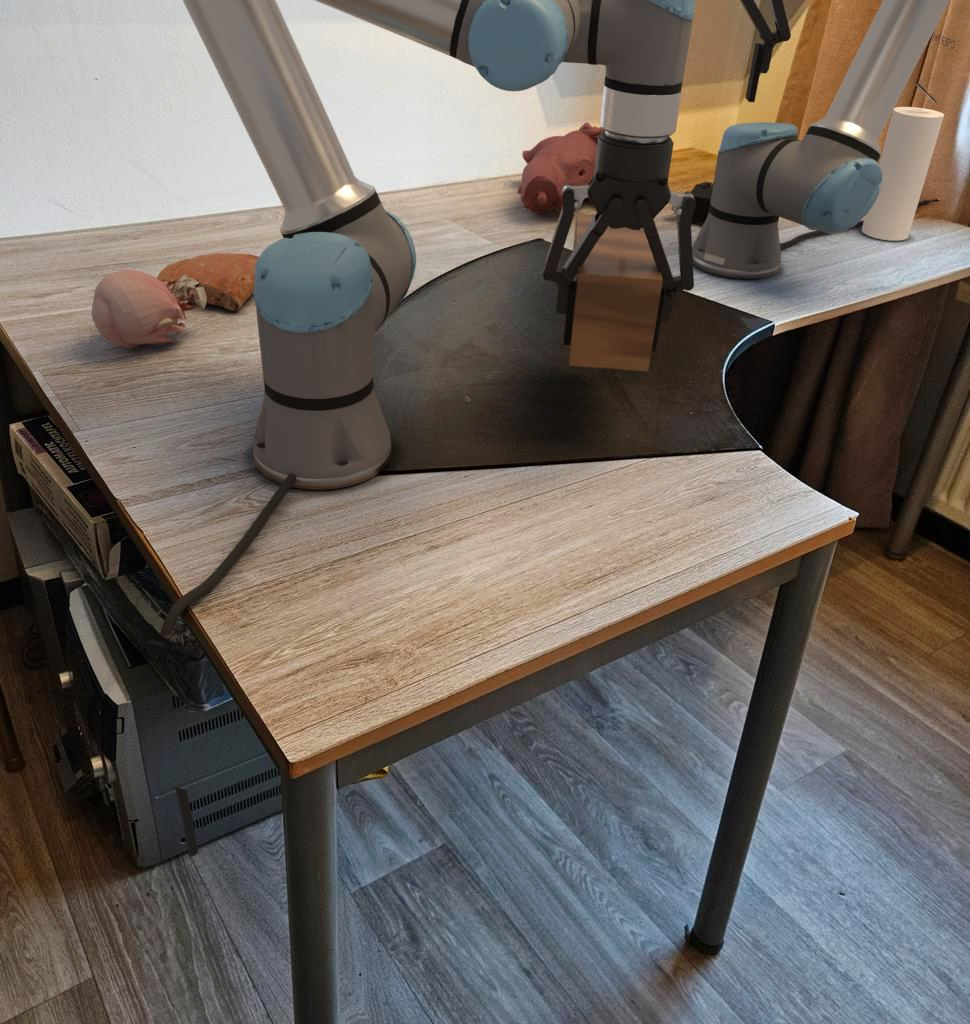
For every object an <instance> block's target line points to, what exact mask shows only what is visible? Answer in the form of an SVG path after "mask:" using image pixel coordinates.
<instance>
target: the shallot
mask: <svg viewBox="0 0 970 1024" xmlns="http://www.w3.org/2000/svg"><path fill="white" fill-rule="evenodd" d="M167 283H168V281H167V282H162V281H160V280H158V279H157V277H155V276H154V275H152V274H149V273H146V272H144V271H141V270H136V269H122V270H117V271H114V272H112V273H108V274H107V275H105V276H104V277H103V278H102V279H101V280H100V281H99V283H97V285H96V287H95V289H94V293H93V302H92V306H91V318H92V319H91V320H92V321H93V323H94V325H95V328H96V329H97V331H98V333H99V334H100V335H101V336H102V337H103V338H104V339H105V340H106V341H108V342H109V343H111V344H113V345H115V346H117V347H118V346H119V347H121V348H126V349H127V348H134V347H138V346H140V345H150V344H155V345H157V344H158V345H162V343H165V342H167V343H168V342H169V343H174V341H173V340H172V339H171V338H170V337H168V336H166V335H168V334H170V333H173V332H175V333H178V334H182V333H183V332H184V329H183V328H186V324H185V323H183V322H179V320H181V321H183V320H185V321H186V322H188V319H187V317H186V312H187V311H191V310H193V309H195V308H196V309H197V310H198V311H200V312H201V313H203V312H204V310H205V308H206V305H207V304H208V303H207V302H206V294H205V290H204V287H198V286H199V285H200V282H199V281H198V280H194V279H192V278H188V277H187V276H186V275H183V276H182V277H180V278H179V280H178V281H177V282H176V283H175V284H171V285H169V286H168V288H167Z"/></svg>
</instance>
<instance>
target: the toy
mask: <svg viewBox="0 0 970 1024" xmlns="http://www.w3.org/2000/svg"><path fill="white" fill-rule="evenodd" d="M713 183H714V181H713V182H710V181H704V182H700V183H697V184H695V185H694V187H693V188H692V190H691V191H690V192H691V193H692V194H693V196H694V199H695V201H696V206H695V209H694V212H693V216H692V219H691V223H693V224H699V225H704V223H705V221H706V219H707V217H708V214H709V208H710V202H711V196H712V189H713Z"/></svg>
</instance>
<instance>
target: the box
mask: <svg viewBox="0 0 970 1024" xmlns="http://www.w3.org/2000/svg"><path fill="white" fill-rule="evenodd" d="M575 215H576V217H575V226H574V236H573V246H572V251H573V250H574V249H575V247H576V246H577V244H578V242H579V241H580V239H581V238H582V236H583V234H584V233H585V231H586V230H587V228H588V227H589V225H590V223H591V221H592V219H593V217H594V215H595V214H583V213H576V214H575ZM572 281H576V294H575V303H574V313H573V322H572V332H571V341H570V345H568V366H570V367H581V368H583V367H584V368H596V369H608V370H609V369H612V370H622V371H637V372H649V369H650V363H651V359H652V358H651V357H652V352H651V351H652V345H653V338H654V332H655V326H656V319H657V313H658V307H659V300H660V294H661V288H662V287H663V284H662V281H663V279H662V275H661V272H658V270H657V267H656V264H655V261H654V258H653V255H652V252H651V249H650V246H649V243H648V240H647V238H646V235H645V232H644V229H643V228H641V229H640V230H632V229H629V228H626V227H624V228H619V229H614V228H610V226H608V227H607V229H606V231H605V232H604V234H603V235H602V236H601V237H600V238H599V240H598V241H597V243H596V244H595V246H594V248H593V249H592V251H591V252H590V254H589V255H588V257H587V258H586V260H585V262H584V263H583V265H582V266H581V267H580V266H579V267H578V273H577V274H576V276H575V277H574V279H573V280H572Z"/></svg>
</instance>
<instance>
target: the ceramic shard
mask: <svg viewBox="0 0 970 1024" xmlns="http://www.w3.org/2000/svg"><path fill="white" fill-rule="evenodd" d="M258 258H259V255H254V254H251V253H210V254H203V255H196V256H194V257H191V258H184V259H181V260H178V261H176V262H173V263H169V264H167V265H166V266H165V267H164V268H163V269H162V270H160V272H159V273H158V275H157V277H156V278H157V279H158V280H160V281H162V282H167V281H168V283H167V288H168V286H169V285H171V284H175V283H176V282H177V281H178V280H179V278H180V277H182V276H183V275H186V276H187V277H188V278H192V279H194V280H198V281H199V282H200V285H199V286H198V287H204V290H205V294H206V302H207V304H209V305H214V306H218V307H219V306H220V307H222V308H224V309H226V310H228V311H231V312H232V311H233V312H236V311H239V310H240V309H241V308H242V307H243V305H244V304H245V302H246V301H247V300H248V299H249V298H250V297H251V296H252V294H253V290H254V282H255V275H254V271H255V265H256V262H257V259H258Z"/></svg>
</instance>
